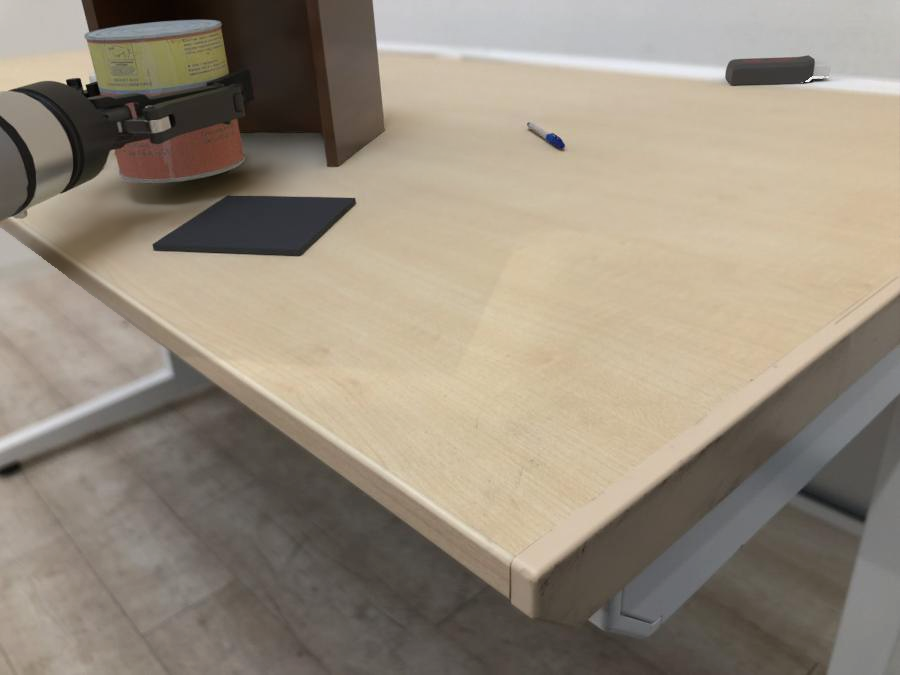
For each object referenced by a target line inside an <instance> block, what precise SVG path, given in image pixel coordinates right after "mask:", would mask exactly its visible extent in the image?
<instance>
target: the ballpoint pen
mask: <svg viewBox="0 0 900 675" xmlns="http://www.w3.org/2000/svg"><path fill="white" fill-rule="evenodd" d="M526 126H527V128H528V129H529V130H532V132H534V133H536V134H537V135H539V136H540V137H542V138H544V139H545V140H546V141H547V142H549V143H550V144H552V145H553V146H555V147H556V148H559V149H562V150H563V149H564V148H566V144H565V142H564V140H563V139H562V138H561V137H560V136H558V135H557V134H555V133H554V132H547V131H546V130H545V129H543V128H541V127H539V126H538V125H536V124H535V123H533V122H527V123H526Z"/></svg>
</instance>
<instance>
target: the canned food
mask: <svg viewBox="0 0 900 675" xmlns="http://www.w3.org/2000/svg"><path fill="white" fill-rule="evenodd" d="M221 26H222V24H221V22H220V21H216V20H178V21H163V22H152V23H142V24H133V25H125V26H118V27H111V28H105V29H100V30H95V31H92V32H89V31H88V32H86V33H85V34H84V39H85V40H86V43H87V46H88V51H89V55H90V59H91V62H92V67H93V70H94V73H95V75H96V79H97V83H98V87H99V91H100V95H106V96H109V97H113V96H119V95H125V94H130V93H140V94H144V95H146V96H147V97H151V96H156V95H162V94H167V93H173V92H178V91H184V90H189V89H194V88H200V87H205V86H207V82H209V81H212V80H215V79H217V78H220V77H223V76H225V75H228V74H229V70H228V64H227V59H226V53H225V47H224V42H223V36H222V31H221ZM126 105H127V106H128V107H129V108H130V110H131V113H132V116H133V118H137V116H136V111H135V107H134V103H128V104H126ZM114 153H115V158H116V162H117V165H118V169H119V170H118V175H119V177H120V178H122V179H124V180H126V181H129V182H132V183H139V184H166V183H180V182H185V181H186V182H187V181H193V180H198V179H203V178H208V177H211V176H216V175H219V174H223V173H225V172H228V171H231V170H233V169H235V168H237V167H239V166H240V165H242V164H243V163H244V162H245V160H246V155H245V152H244V148H243V144H242V137H241V132H240V131H239V126H238V120H237V119H234V120H231V124H229V125H227V124H222V123H220V124H217V125H213V126H210V127H206V128H203V129H200V130H196V131H193V132H189V133H186V134H182V135H179V136H176V137H174V138H172V139H170V140H167V141H165V142H162V143H161V144H152V143H150V139H145V140H141V141H136V142H132V143H127V144H125V145H124V147H122V148H119V149H115V150H114Z"/></svg>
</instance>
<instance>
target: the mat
mask: <svg viewBox="0 0 900 675" xmlns="http://www.w3.org/2000/svg"><path fill="white" fill-rule="evenodd" d="M356 204H357V200H356V197H341V196H340V197H339V196H338V197H336V196H335V197H333V196H332V197H331V196H291V195H287V196H286V195H283V196H282V195H243V194H242V195H239V194H227V195H226V196H224V197H223V198H221V199H220V200H218V201H216V202H215V203H213V204H212V205H210V206H209V207H207V208H206V209H204V210H202V211H201V212H199V213H198V214H196V215H195V216H193V217H192V218H190V219H189V220H187V221H185V222H184V223H183V224H181V225H179V226H178V227H177V228H175V229H173V230H172V231H170V232H168V233H167V234H166V235H164V236H163V237H161V238H159V239H157V241H155V242H153V243H152V245H151V246H152V248H153V250H154V251H169V252H170V251H171V252H196V253H221V254H245V255H246V254H247V255H271V256H273V255H276V256H298V257H300V256H301V255H303V254H304V253H305V252H306V251H307V250H308V249H309V248H310V247H311V246H312V245H313V244H315V242H316V241H317V240H318V239H319V238H321V237H322V236H323V235H324V234H325V233H326V232H327V231H328V230H329V229H331V227H332V226H333V225H335V224H336V223H337V222H338V221H339V220H340V219H341V218H342V217H343V216H344V215H345V214H346V213H347V212H349V211H350V209H352V208H353V207H354V206H355V205H356Z"/></svg>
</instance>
